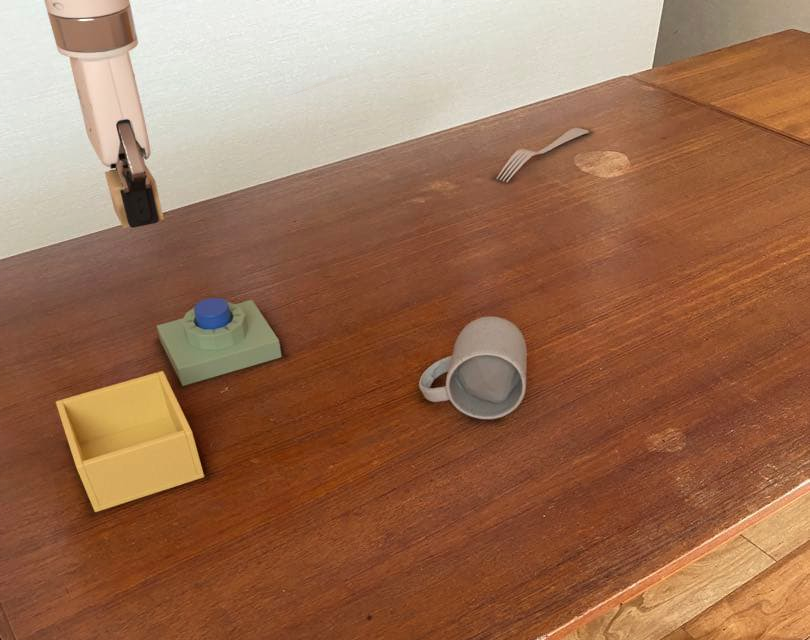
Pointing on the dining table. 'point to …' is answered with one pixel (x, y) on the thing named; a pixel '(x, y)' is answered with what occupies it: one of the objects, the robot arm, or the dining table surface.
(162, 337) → the green socket base
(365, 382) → the dining table surface
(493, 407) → the ceramic mug
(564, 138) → the fork
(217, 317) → the blue short cylinder
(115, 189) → the block
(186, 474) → the bin
